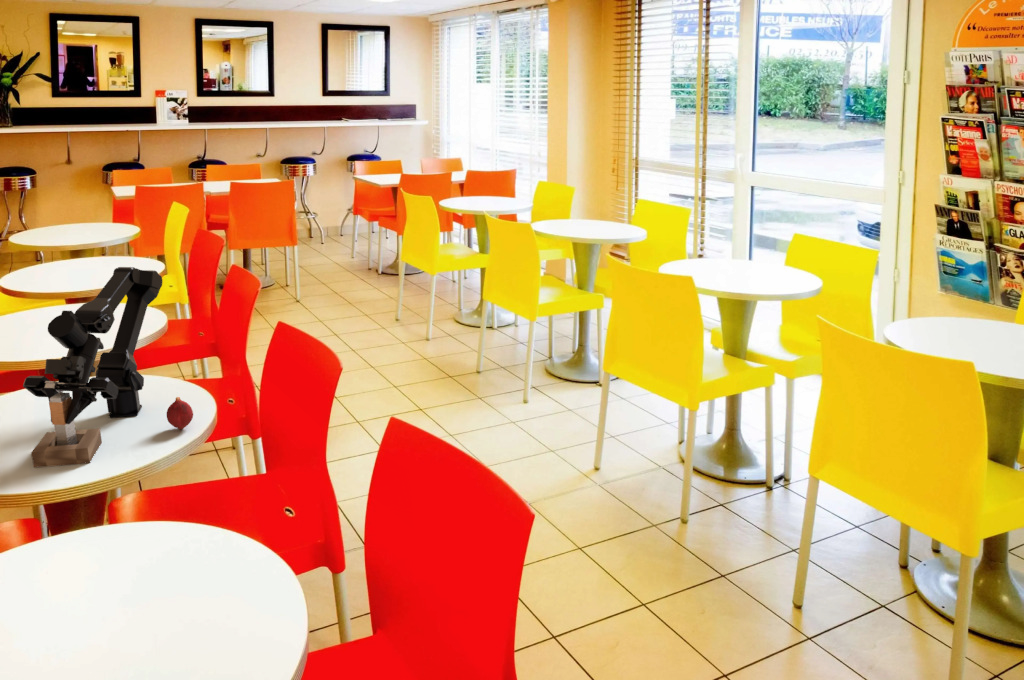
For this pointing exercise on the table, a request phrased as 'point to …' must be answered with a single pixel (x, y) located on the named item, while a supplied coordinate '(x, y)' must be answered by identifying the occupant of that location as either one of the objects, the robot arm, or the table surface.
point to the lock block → (66, 449)
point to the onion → (179, 414)
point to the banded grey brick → (62, 419)
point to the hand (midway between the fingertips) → (60, 423)
